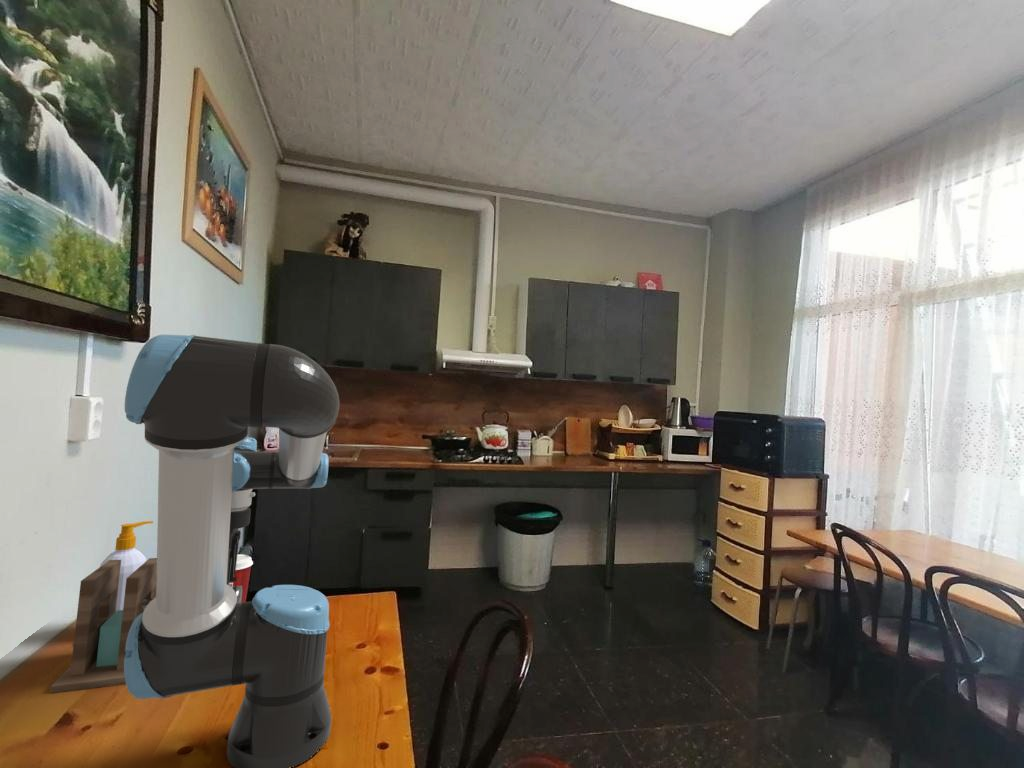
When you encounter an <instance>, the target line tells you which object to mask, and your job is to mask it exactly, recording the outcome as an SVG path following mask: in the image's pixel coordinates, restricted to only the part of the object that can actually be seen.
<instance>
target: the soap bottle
mask: <svg viewBox="0 0 1024 768" xmlns="http://www.w3.org/2000/svg"><path fill="white" fill-rule="evenodd" d="M147 524H154V521H153V520H147V521H146V520H145V521H144V520H143V521H139V522H134V523H124V524H121V525H120V526H121V532H120V533H119V535H118V537H117V538H116V540H115V547H114V548H115V549H114V551H113V552H111V553H109V555H107V556H106V557H105V559H104V560H103V561H102V562H101V564H100V566H99V568H100V567H101V566H102V565H104V564H105V563H106V562H108V561H109V560H121V567H120V576H119V585H118V594H117V604H116V611H118V610H123V606H124V597H125V588H126V578H128V577H129V576H130V575H131V574H132V573H133V572H134V571H136V570H137V569H138V568H139V567H140V566H141V565H142V564H144V563H145V562H146V561H147V557H146V556H145V555H144V554H143V553H142V552H141V551H139V550H138V549H136V541H137V535H135V532H134V528H138V527H142V526H143V525H147Z"/></svg>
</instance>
